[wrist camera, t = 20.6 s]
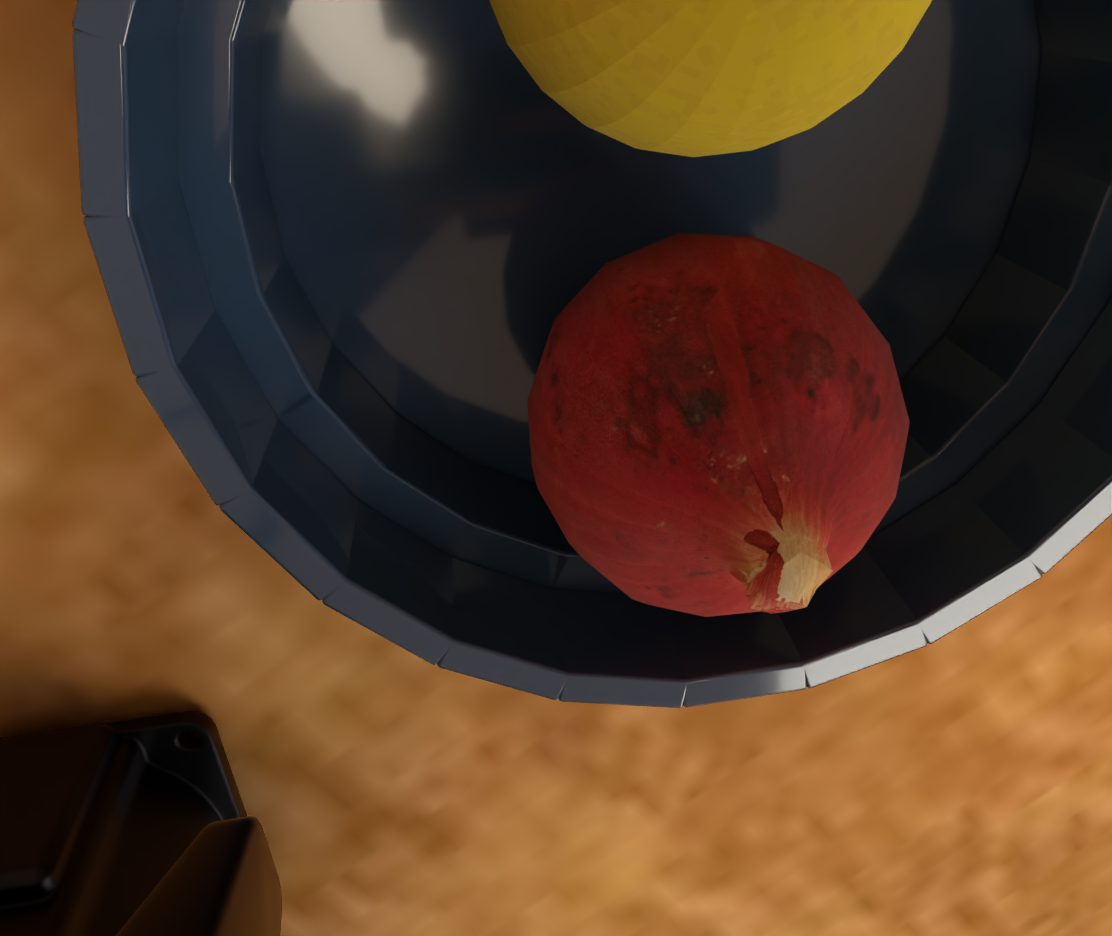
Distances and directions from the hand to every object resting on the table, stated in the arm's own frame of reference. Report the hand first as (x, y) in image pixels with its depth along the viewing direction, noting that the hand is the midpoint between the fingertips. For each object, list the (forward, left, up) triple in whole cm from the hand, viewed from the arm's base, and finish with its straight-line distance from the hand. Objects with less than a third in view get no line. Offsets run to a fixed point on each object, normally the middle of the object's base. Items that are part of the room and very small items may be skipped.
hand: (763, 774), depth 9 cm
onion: (0, -1, -11) cm, 11 cm away
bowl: (+3, -2, -12) cm, 12 cm away
